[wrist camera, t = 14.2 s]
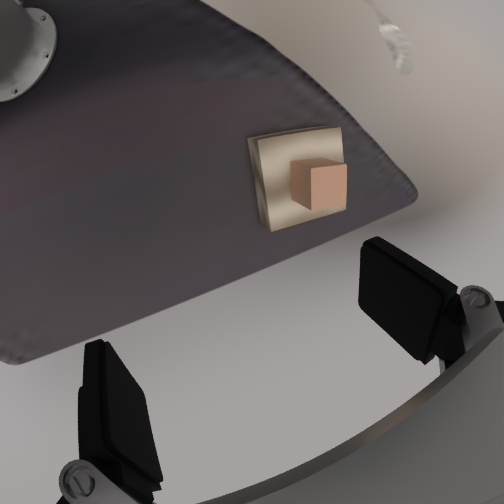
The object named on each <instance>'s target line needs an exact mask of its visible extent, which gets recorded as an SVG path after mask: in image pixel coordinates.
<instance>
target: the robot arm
mask: <svg viewBox="0 0 504 504" xmlns="http://www.w3.org/2000/svg"><path fill="white" fill-rule="evenodd" d="M44 19H45V20H44ZM57 34H58V33H57V28H56V25H55V23H54V21H53V19H52V18H51V16H50V15H49V14H47V13H46V12H45V11H43V10H41V9H39V8H24V7H23V3H22V1H20V0H0V102H7V101H11V100H14V99H16V98H18V97H20V96H22V95H23V94H25V93H26V92H28V91H29V90H30V89H31V88H32V87H33V86H34V85H36V83H37V82H38V81H39V80H40V79H41V78H42V76H43V75H44V73H45V72H46V70H47V69H48V67H49V65H50V63H51V61H52V59H53V56H54V54H55V51H56V46H57ZM47 55H49V56H48V58H46V56H47ZM17 90H18V91H17ZM16 91H17V93H16ZM457 289H458V286H456V285H455V284H453V283H452V282H450V281H449V280H447V279H446V278H444V277H443V276H441V275H440V274H438V273H437V272H435V271H434V270H432V269H431V268H429V267H427V266H426V265H424V264H423V263H421V262H419V261H418V260H417V259H415V258H413V257H412V256H410V255H409V254H407V253H405V252H404V251H402V250H400V249H399V248H397V247H395V246H394V245H392V244H391V243H389V242H387V241H386V240H384V239H382V238H381V237H378V236H376V237H373V238H371V239H368V240H366V241H365V242H364V243H363V246H362V247H361V250H360V278H359V296H358V297H359V298H358V303H359V306H360V308H361V309H362V310H363V311H364V312H365V313H366V314H367V315H368V316H369V317H370V318H371V319H372V320H374V321H375V322H376V323H377V324H378V325H379V326H380V327H381V328H382V329H383V330H384V331H386V332H387V333H388V334H389V335H390V336H391V337H392V338H393V339H394V340H395V341H396V342H397V343H398V344H400V346H402V347H403V348H404V349H405V350H406V351H407V352H408V353H409V354H410V355H411V356H412V357H413V358H414V359H416V360H420V361H421V362H422V363H423V364H424V365H426V364H427V363H428V362H429V361H431V360H432V359H433V358H434V357H435V355H436V356H437V357H438V358H439V365H440V376H439V377H437V378H436V379H435V380H434V381H433V382H431V383H430V384H429V385H428V386H426V387H425V388H424V389H422V390H421V391H420V392H419V393H417V394H416V395H415V396H413V397H412V398H411V399H409V400H408V401H407V402H405V403H404V404H403V405H401V406H400V407H398V408H397V409H396V410H394V411H393V412H391V413H390V414H388V415H387V416H385V417H384V418H382V419H381V420H379V421H378V422H376V423H375V424H373V425H372V426H370V427H369V428H367V429H365V430H364V431H362V432H361V433H359V434H357V435H356V436H354V437H352V438H351V439H349V440H347V441H345V442H344V443H342V444H340V445H338V446H336V447H335V448H333V449H331V450H329V451H327V452H325V453H323V454H322V455H320V456H318V457H316V458H314V459H312V460H310V461H308V462H306V463H304V464H301V465H300V466H297V467H295V468H293V469H291V470H289V471H286V472H284V473H282V474H279V475H277V476H275V477H272V478H270V479H267V480H265V481H262V482H260V483H257V484H255V485H252V486H249V487H247V488H244V489H241V490H238V491H235V492H232V493H229V494H226V495H223V496H221V497H218V498H214V499H211V500H208V501H204V502H201V503H197V504H504V301H494V299H493V297H492V295H491V294H490V293H489V292H488V291H487V290H485V289H484V288H482V287H479V286H474V285H471V286H466V287H465V288H463V289H462V290H461V292H460V295H459V294H457V293H456V292H457ZM84 351H85V352H84V365H83V386H82V387H80V388H79V392H78V443H79V460H73V461H71V462H69V463H68V464H66V465H65V466H64V468H63V469H62V471H61V473H60V476H59V487H60V490H61V492H62V494H63V495H62V497H61V498H60V500H59V501H58V502H57V503H56V504H156V503H155V502H153V500H154V497H153V493H152V492H154V491H158V490H162V489H161V486H160V482H162V481H163V475H162V471H161V468H160V464H159V460H158V456H157V452H156V447H155V443H154V439H153V434H152V430H151V425H150V420H149V415H148V410H147V405H146V399H145V395H144V393H143V391H142V389H141V387H140V386H139V385H138V383H137V382H136V381H135V379H134V378H133V377H132V375H131V374H130V372H129V371H128V369H127V368H126V367H125V365H124V364H123V362H122V361H121V359H120V358H119V356H118V355H117V353H116V352H115V350H114V349H113V347H112V346H111V344H110V343H109V342H108V341H107V342H104V341H103V340H102V339H98V340H95V341H92V342H89V343H86V344H85V350H84Z"/></svg>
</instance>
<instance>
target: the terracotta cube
mask: <svg viewBox="0 0 504 504" xmlns="http://www.w3.org/2000/svg"><path fill="white" fill-rule="evenodd" d="M290 173H291V198H292V200H293V201H295V202H297V203H299V204H300V205H302V206H304V207H306V208H307V209H309V210H311V211H314V210H319V209H324V208H329V207H335V206H340V205H345V204H346V189H347V164H344V163H340V162H337V161H333V160H330V159H326V158H317V159H307V160H298V161H290Z"/></svg>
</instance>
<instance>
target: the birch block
mask: <svg viewBox="0 0 504 504" xmlns="http://www.w3.org/2000/svg"><path fill="white" fill-rule="evenodd" d="M247 140H248V146H249V152H250V158H251V164H252V170H253V176H254V183H255V189H256V195H257V201H258V208H259V214H260V220H261V224H263V225H264V226H265V227H266V228H267V229H268V230H270V231H271V232H273V231H276V230H279V229H283V228H286V227H289V226H292V225H296V224H299V223H302V222H306V221H309V220H312V219H316V218H319V217H322V216H326V215H329V214H332V213H336V212H339V211H343V210H346V204H345V205H340V206H335V207H329V208H324V209H319V210H314V211H311V210H309V209H307V208H306V207H304V206H302V205H300V204H299V203H297V202H295V201H293V200H292V198H291V173H290V161H298V160H307V159H317V158H326V159H330V160H333V161H337V162H340V163H344V161H343V148H342V136H341V127H336V126H327V125H325V126H318V127H310V128H303V129H296V130H290V131H284V132H278V133H272V134H266V135H261V136H256V137H251V138H247Z"/></svg>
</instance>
